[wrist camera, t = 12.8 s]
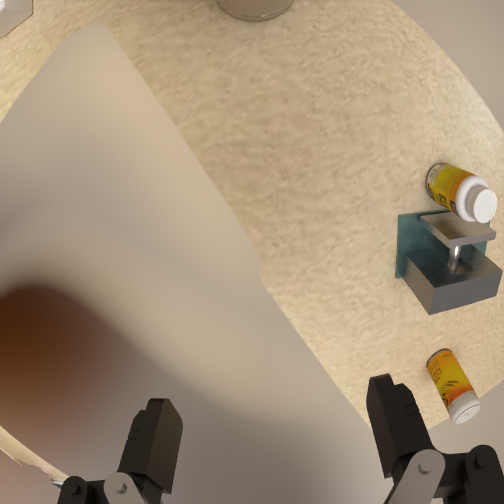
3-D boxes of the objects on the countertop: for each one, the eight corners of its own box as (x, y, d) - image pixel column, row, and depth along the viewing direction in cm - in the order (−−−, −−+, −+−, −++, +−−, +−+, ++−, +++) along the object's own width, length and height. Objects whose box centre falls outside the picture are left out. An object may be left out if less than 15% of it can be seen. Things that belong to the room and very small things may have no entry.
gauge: (398, 215, 36) (433, 246, 27) (490, 204, 34) (529, 228, 26) (395, 276, 40) (422, 316, 32) (482, 258, 39) (515, 289, 30)
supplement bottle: (417, 186, 34) (460, 212, 25) (438, 153, 32) (486, 171, 23) (442, 209, 35) (484, 238, 26) (461, 178, 33) (507, 200, 24)
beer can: (426, 355, 48) (455, 414, 34) (452, 343, 47) (485, 399, 33) (425, 373, 50) (451, 429, 37) (450, 361, 49) (478, 415, 36)
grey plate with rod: (419, 215, 35) (449, 239, 28) (489, 207, 34) (521, 227, 27) (415, 268, 39) (440, 298, 32) (482, 254, 37) (510, 279, 30)
